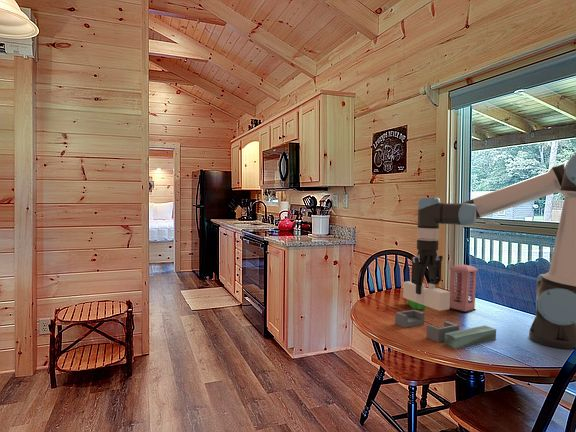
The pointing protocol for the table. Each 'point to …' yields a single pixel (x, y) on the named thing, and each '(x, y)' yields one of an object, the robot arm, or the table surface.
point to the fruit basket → (416, 305)
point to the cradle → (417, 318)
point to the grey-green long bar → (470, 336)
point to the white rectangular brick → (428, 296)
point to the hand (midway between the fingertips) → (425, 301)
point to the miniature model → (462, 288)
